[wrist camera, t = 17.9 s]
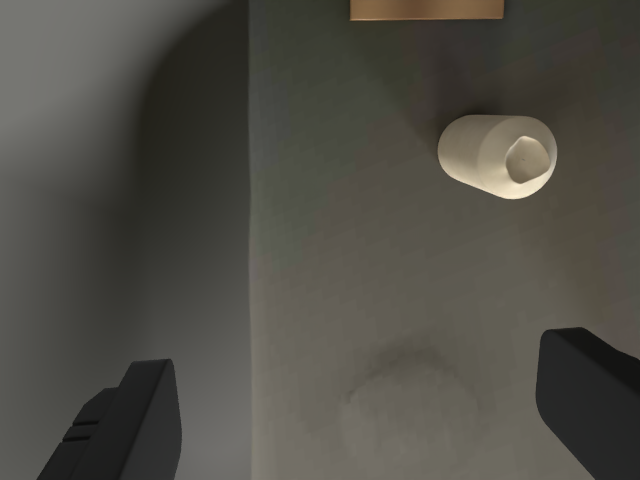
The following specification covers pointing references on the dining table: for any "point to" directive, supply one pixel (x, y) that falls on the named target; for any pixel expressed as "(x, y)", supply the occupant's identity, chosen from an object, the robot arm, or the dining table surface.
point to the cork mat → (425, 9)
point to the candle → (499, 153)
